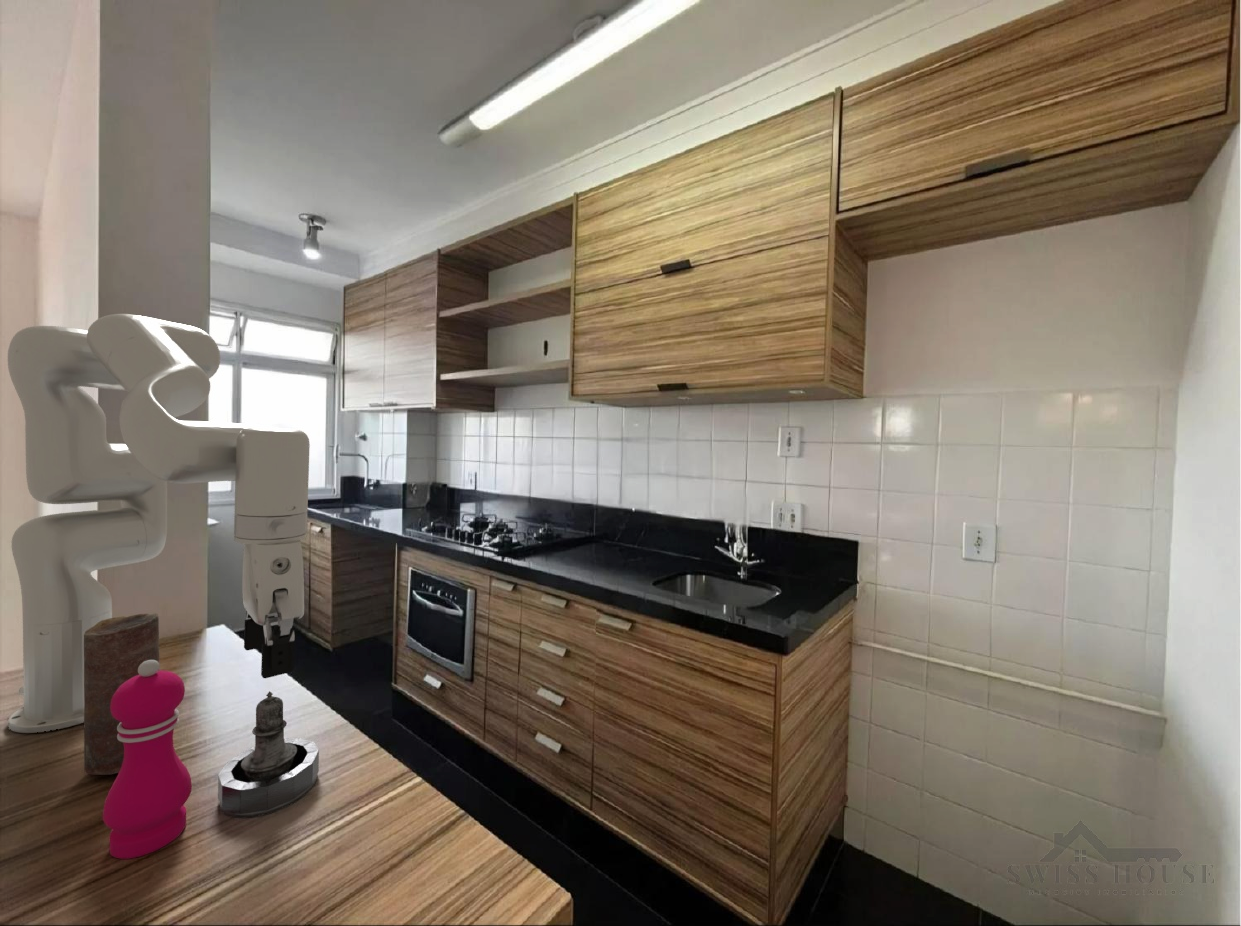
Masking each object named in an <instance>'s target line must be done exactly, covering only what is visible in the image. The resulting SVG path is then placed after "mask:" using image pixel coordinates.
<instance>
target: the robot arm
mask: <svg viewBox="0 0 1241 926" xmlns="http://www.w3.org/2000/svg"><path fill="white" fill-rule="evenodd" d="M220 363H221V352H220V349H219V346H218V345H217V343H216V341H215V339H213V337H212V336H211V335H209V334H208V332H206V331H205V330H202V329H201V328H198V327H196V326H192V325H187V324H183V323H177V322H172V321H168V320H164V319H159V318H154V317H149V316H144V315H143V316H142V315H138V314H137V315H136V314H129V313H115V314H108V315H104V316H102V317H99V318H97V319H96V320H95V321H93V322H92V323H91V325H89V327H88V329H82V328H74V327H68V326H67V327H66V326H59V325H58V326H57V325H34V326H29V327H25V328H22V329H21V330H19V331H17V332H16V333H15V334H14V335H13V336H12V338H11V341H10V343H9V346H8V350H7V367H8V372H9V377H10V379H11V382H12V385H13V386H14V390H15V391H16V394H17V396H18V399H19V401H20V402H21V403H20V404H21V405H22V409H23V411H24V412H23V414H24V421H25V422H24V423H25V425H24V431H25V432H24V434H25V435H24V436H25V437H24V439H25V470H26V471H25V472H26V473H25V474H26V483H27V489H28V491H29V494H30V495H31V496H32V498H33V499H34V500H36V501H37V502H40V503H44V504H48V505H70V504H71V505H73V504H87V503H88V504H89V503H103V502H116V501H119V502H120V508H110V509H100V510H99V509H97V510H96V509H95V510H83V511H81V510H80V511H72V512H61V513H55V514H54V513H53V514H52V513H51V514H48V515H43V516H38V517H35V518H33V519H30V520H27V521H26V522H24V523H22V524H21V525H19V527H17V529H16V530H15V531H14V532H13V534H12V537H11V552H12V557H13V560H14V563H15V567H16V570H17V575H18V578H19V585H20V591H21V593H20V594H21V607H22V610H21V611H22V653H23V654H22V660H23V661H22V663H23V664H22V666H23V667H22V668H23V669H22V671H23V673H22V674H23V675H22V677H23V686H21V687H19V688H18V692H17V693H18V695H21V696H23V706H22V707H21V708H19V709H18V710H16V711H14V712H13V713H12V714H11V715H10V716H9V717H8V718H7V719H8V720H7V727H9V728H8V730H10V729H11V730H10V731H12V732H14V733H18V734H21V733H22V734H35V733H37V732H38V733H45V732H44V731H46V732H51V731H50V730H52V731H57V730H56V729H58V730H62V729H65V728H69V727H70V728H71V727H73V726H77V725H80V724H84V634H85V631H87V630H88V629H90V628H91V627H94V626H95V625H96V624H97V623H98V622H100V621H101V620H106V619H110V618H113V598H112V595H111V593H110V590H108V588H107V587H106V586H105V585H104V584H102V583H101V582H99V580H97V579H95V578H94V577H93V575H92V572H94V571H99V570H104V569H107V568H113V567H119V566H126V565H132V564H137V563H142V562H145V561H149V560H152V559H155V558H156V557H157V556H159V555H160V554H161V553H162V552H163V550H164V548H165V545H166V543H167V536H168V534H167V533H168V483H171V484H196V483H210V482H211V483H212V482H214V483H216V482H234V518H233V519H234V520H233V521H234V522H233V523H234V524H233V526H234V527H233V541H234V542H235V543H240V544H243V549H242V550H243V559H242V581H241V582H242V583H241V585H242V586H241V588H242V590H241V592H242V603H243V608H244V609H245V618H246V619H245V620H244V632H243V633H244V634H243V635H244V637H243V648H244V650H245V651H253V650H256V649H261V667H260V668H261V670H260V673H261V674H260V676H261V677H262V678H263V679H268V678H273V677H277V676H280V675H285V674H288V673H291V672H293V671H294V667H295V639H296V638H295V626H294V618H295V619H296V620H299V619H301V618H302V617H303V616H304V614H305V591H304V590H305V584H304V583H305V582H304V580H305V579H304V578H305V577H304V575H305V574H304V558H303V556H304V555H303V547H302V542H301V541H302V540H304V539H306V538H307V534H308V533H307V531H308V509H309V508H308V505H309V502H308V501H309V481H310V480H309V475H310V474H309V473H310V446H311V445H310V439H309V436H308V435H307V433H305V432H304V431H302V430H300V429H295V428H285V427H284V428H283V427H269V426H267V425H262V424H255V423H241V422H238V423H236V422H228V421H227V422H224V421H207V420H205V421H203V420H180V419H177V418H178V417H181V416H184V415H187V414H188V413H191V412H193V411H194V410H196V409H198V407H200V406H201V405H203V403H204V402H205V401H206V400H207V398H208V396H209V394H210V391H211V381H210V379H211V378H212V377H214V375H215V374H216V373H217V371H218V369H219V368H220ZM82 387H84V388H95V389H103V390H104V389H105V390H115V391H126V392H127V394H126V395H125V397H124V399H123V400H122V402H121V406H120V409H119V414H118V415H119V418H118V419H119V430H120V434H121V438H122V441H123V442H124V443H109V442H108V440H107V416H106V414H105V412H104V410H103V409H102V408H103V407H101V406H100V404H99V403H97V401H96V400H95V399H94V398H93V397H92V396H91V395H90V393H88V392H87V391H86V390H84V389H83V388H82ZM38 733H37V734H38Z"/></svg>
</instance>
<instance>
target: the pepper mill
mask: <svg viewBox="0 0 1241 926" xmlns="http://www.w3.org/2000/svg"><path fill="white" fill-rule="evenodd" d="M160 666H161V665H160V661H159V662H157V661H156V660H147V661H144V662H143V663H142V664H141V665H140V666H139V667H138V673H139V675H137V676H135V677H133V678H131V679H129V680H127V681H126V682H124V683H123V684H122V685H121V686H120V687H119V688H118V689H117V690H116V692H115V693H114V695H113V697H112V700H111V706H110V709H111V713H112V715H113V717H114V718H115V719H116V720H118V721H120V722H121V723H119V725H118V726H117V731H118V735H117V739H118V740H119V741H121V742H123V744H124V760H123V763H122V767H121V769H120V771H119V772H118V773H117V776H116V778H115V780H114V782H113V783H112V786H111V787H110V789H109V791H108V792H107V793H108V794H107V796H106V799H105V802H104V805H103V810H102V820H103V821H102V822H103V823H104V825H105V826H107V827H108V828H109V829H110V830H111V832H110V834H109V845H108V846H109V853H110V855H111V856H112V857H114V858H115V859H116V858H117V859H120V860H123V859H125V860H126V859H128V860H129V859H134V858H139V857H143V856H145V855H149V854H151V853H154V852H155V851H158V850H160V849H162V848H164V847H165V846H167V845H169V844H170V843H172V841H174V840H175V839H176V838H178V837H179V835H181V833H182V832H183V831H184V830H185V828H186V825H187V808H186V806H185V803H186V802H187V801H188V800H189V797H190V795H191V793H192V787H193V786H192V785H193V784H192V779H191V775H190V772H189V770H188V768H187V767H186V765H185V764H184V763H183V762H182V760H181V759H180V757H179V756H178V755H177V753H176V750H175V747H174V739H173V738H174V731H175V730H174V729H175V728H176V727H177V726H178V725H179V724H180V719H179V715H180V711H179V710H178V709H177V708H178V707H179V706H180V704H181V703H182V701H183V700H184V698H185V692H186V689H185V688H186V687H185V683H184V681H183V679H182V677H180V676H179V675H178V674H177V673H175V672H173V671H170V670H160V668H161V667H160ZM158 670H159V671H158Z"/></svg>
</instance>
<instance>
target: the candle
mask: <svg viewBox="0 0 1241 926" xmlns="http://www.w3.org/2000/svg"><path fill="white" fill-rule="evenodd" d="M159 622H160V621H159V615H158V614H157V613H155V612H154V613H138V614H132V615H128V616H117V617H112V618H110V619H106V620H101V621H100V622H98V623H97V624H96V625H95V626H94V627H91V628H90V629H88V630H87V631H85V634H84V723H83V744H84V745H83V754H84V755H83V759H84V760H83V765H84V772H85V773H86V774H87V775H103V776H105V775H106V776H107V775H115V774H119V771H120V769H121V767H122V763H123V760H124V744H123V742H121V741H119V740H118V739H117V735H118V731H117V726H118V725H119V723H121V722H120V721H118V720H116V719H115V718H114V717H113V715H112V713H111V709H110V706H111V700H112V697H113V695H114V693H115V692H116V690H117V689H118V688H119V687H120V686H121V685H122V684H123V683H124V682H126V681H127V680H129V679H131V678H133V677H135V676H137V675H139V673H138V667H139V666H140V665H141V664H142V663H143V662H144V661H147V660H156V661H157V662H159V663H160V643H159V642H160V628H159V627H160V626H159V624H160V623H159ZM158 671H160V669H159V670H158Z"/></svg>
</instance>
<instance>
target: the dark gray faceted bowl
mask: <svg viewBox="0 0 1241 926" xmlns="http://www.w3.org/2000/svg"><path fill="white" fill-rule="evenodd" d="M284 741H285V743H291V744H293V745H295V746H296V748H297V753H296V755H295V756H294V760H293V762H292V765H291V767H290V768H289V769H288V770H291V771H290V772H289V773H286V774H284V775H281V776H278V777H276V778H273V779H270V780H267V781H259V782H252V783H249V782H250V781H251V780H249V779H248V778H247V776H246V775H245V772H244V770H243V769H242V767H241V763H242V760H243V759H244V758H245V757H246V756H247V755H248V754H250V753H251V752H253V751H254V749H255V746H253V747H250V748H247V749H246V750H244V751H243V752H241V753H239V754H237V755H236V756H235V757H232V758H231V759H230V760H228V761H227V762H226V764H225V765H224V766H223V768H221V770H220V771H219V773H218V774H217V779H218V780H217V798H218V801H219V809H220V810H221V812H222V813H223V814H224V815H226V816H228V817H232V818H236V819H237V818H238V819H249V818H251V819H252V818H256V817H262V816H266V815H269V814H272V813H276V812H278V811H280V810H282V809H285V808H287V807H289V806H291V805H293V804H294V803H297V802H298V801H299V800H300V799H302V798H303V797H304V796H306V795H307V794H308V793H309V792H310V791H311V790H312V789H313V787H314V786H315V784H316V781H317V779H318V774H319V771H320V769H319V768H320V766H319V765H320V759H319V757H320V754H319V753H320V748H318V746H317V745H316V743H315V742H314V741H313V740H309V739H305V738H301V737H299V738H298V737H290V738H284Z"/></svg>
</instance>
